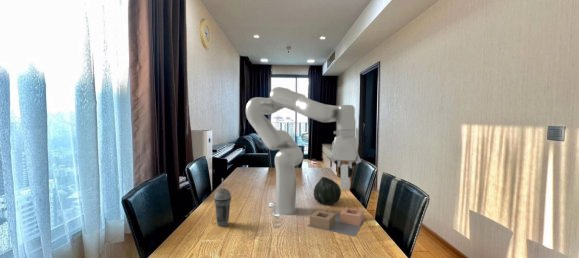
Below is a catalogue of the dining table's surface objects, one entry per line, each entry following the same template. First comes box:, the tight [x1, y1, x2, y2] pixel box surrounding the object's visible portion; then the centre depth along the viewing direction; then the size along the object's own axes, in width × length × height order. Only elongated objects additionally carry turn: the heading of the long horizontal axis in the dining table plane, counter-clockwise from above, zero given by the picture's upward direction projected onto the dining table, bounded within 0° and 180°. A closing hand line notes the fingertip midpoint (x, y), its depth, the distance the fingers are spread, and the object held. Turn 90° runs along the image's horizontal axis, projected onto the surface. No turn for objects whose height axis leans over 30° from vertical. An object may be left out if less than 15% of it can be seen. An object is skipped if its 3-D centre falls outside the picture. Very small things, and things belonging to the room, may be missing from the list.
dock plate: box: [307, 206, 366, 237], centre depth 117 cm, size 20×20×6 cm
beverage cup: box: [213, 177, 232, 228], centre depth 116 cm, size 7×7×20 cm
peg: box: [340, 163, 351, 190], centre depth 116 cm, size 3×3×10 cm
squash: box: [313, 176, 342, 206], centre depth 147 cm, size 14×15×15 cm
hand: (345, 176), depth 116 cm, fingers closed on peg, 3 cm apart
